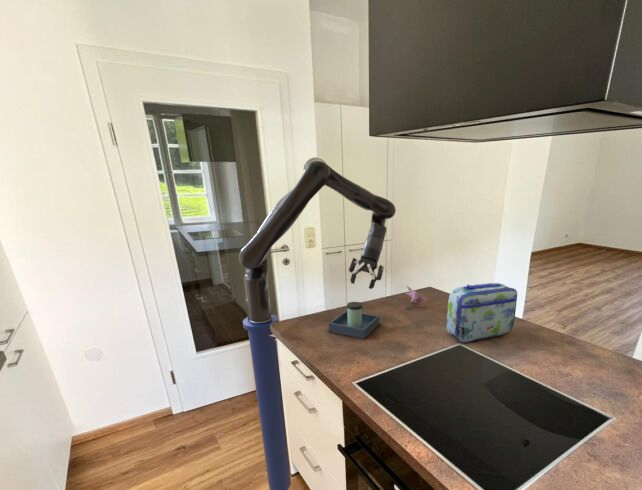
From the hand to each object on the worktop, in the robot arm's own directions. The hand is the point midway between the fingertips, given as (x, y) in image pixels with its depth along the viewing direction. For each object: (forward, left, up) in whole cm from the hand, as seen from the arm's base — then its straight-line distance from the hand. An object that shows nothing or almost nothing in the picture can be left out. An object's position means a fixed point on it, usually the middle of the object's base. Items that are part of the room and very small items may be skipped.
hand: (361, 286), depth 150 cm
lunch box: (+49, +3, -15) cm, 51 cm away
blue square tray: (+2, -11, -14) cm, 18 cm away
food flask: (+2, -11, -14) cm, 18 cm away
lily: (+17, +23, -15) cm, 32 cm away
